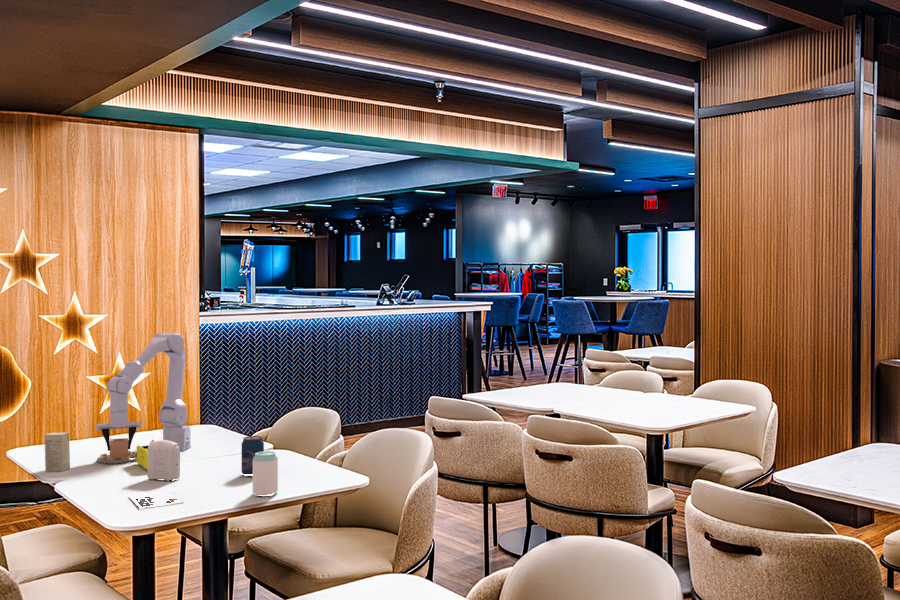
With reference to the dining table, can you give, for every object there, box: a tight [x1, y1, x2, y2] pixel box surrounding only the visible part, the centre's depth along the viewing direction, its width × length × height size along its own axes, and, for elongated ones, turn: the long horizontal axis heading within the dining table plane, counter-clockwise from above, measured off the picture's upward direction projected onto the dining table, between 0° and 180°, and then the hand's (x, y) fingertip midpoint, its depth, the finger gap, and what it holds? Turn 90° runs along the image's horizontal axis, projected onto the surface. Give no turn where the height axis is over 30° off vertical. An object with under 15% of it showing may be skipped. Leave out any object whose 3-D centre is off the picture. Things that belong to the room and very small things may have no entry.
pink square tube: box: [109, 437, 129, 459], centre depth 264 cm, size 6×6×6 cm
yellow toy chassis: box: [136, 439, 156, 471], centre depth 252 cm, size 16×6×8 cm, turn 35°
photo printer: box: [147, 439, 181, 481], centre depth 234 cm, size 10×4×12 cm, turn 72°
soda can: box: [241, 435, 265, 475], centre depth 240 cm, size 7×7×12 cm
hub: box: [96, 450, 137, 465], centre depth 263 cm, size 14×14×4 cm
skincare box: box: [44, 432, 71, 472], centre depth 248 cm, size 6×4×12 cm
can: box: [252, 450, 279, 496], centre depth 216 cm, size 7×7×12 cm
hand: (119, 449), depth 263 cm, fingers closed on pink square tube, 6 cm apart
